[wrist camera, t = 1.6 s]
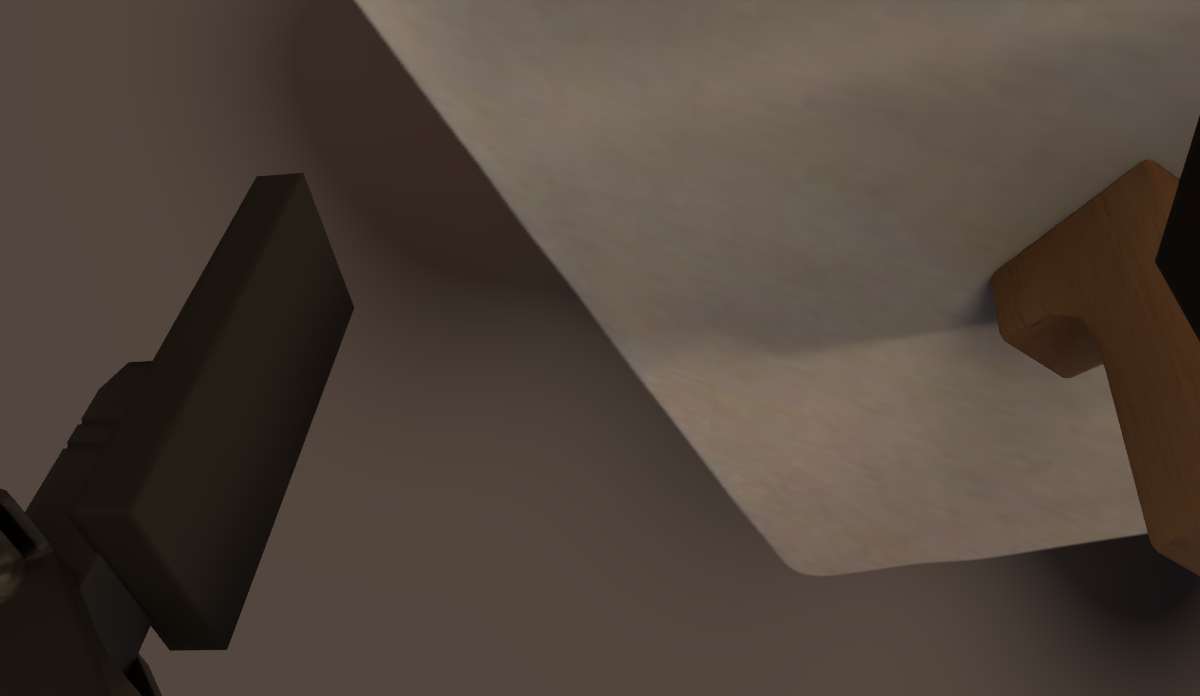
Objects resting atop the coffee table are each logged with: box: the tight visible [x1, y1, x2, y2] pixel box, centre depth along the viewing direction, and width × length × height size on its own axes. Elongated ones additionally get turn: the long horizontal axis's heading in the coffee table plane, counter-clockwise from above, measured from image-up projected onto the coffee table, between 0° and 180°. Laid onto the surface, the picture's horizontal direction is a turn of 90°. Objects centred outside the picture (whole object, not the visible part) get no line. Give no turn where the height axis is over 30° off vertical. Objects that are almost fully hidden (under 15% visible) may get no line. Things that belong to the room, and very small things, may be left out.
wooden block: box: [991, 160, 1200, 576], centre depth 41 cm, size 9×4×18 cm, turn 149°
